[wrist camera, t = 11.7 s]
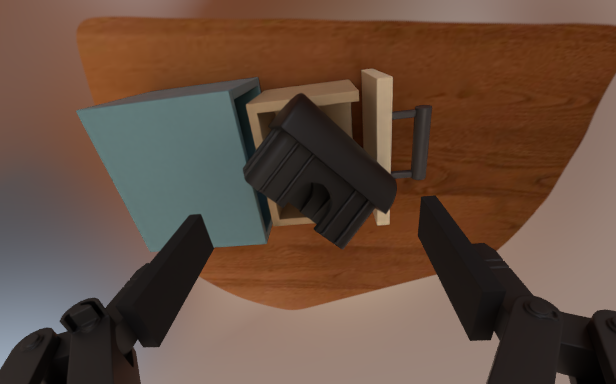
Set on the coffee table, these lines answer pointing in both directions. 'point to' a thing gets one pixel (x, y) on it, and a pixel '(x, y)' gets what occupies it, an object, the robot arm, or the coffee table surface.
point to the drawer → (348, 127)
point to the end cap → (319, 171)
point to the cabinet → (183, 160)
